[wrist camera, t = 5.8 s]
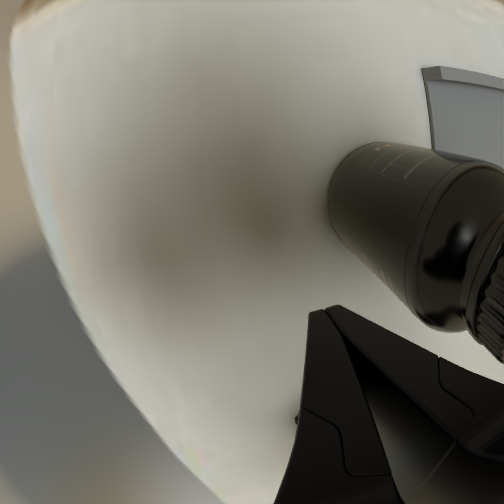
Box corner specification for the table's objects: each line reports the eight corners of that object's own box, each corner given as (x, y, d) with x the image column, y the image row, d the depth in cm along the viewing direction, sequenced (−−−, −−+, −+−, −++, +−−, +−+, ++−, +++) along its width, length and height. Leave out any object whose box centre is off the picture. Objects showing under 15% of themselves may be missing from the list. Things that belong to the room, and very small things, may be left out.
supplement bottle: (426, 230, 17) (559, 332, 6) (338, 266, 18) (452, 425, 7) (412, 129, 14) (594, 174, 4) (310, 156, 15) (501, 241, 4)
